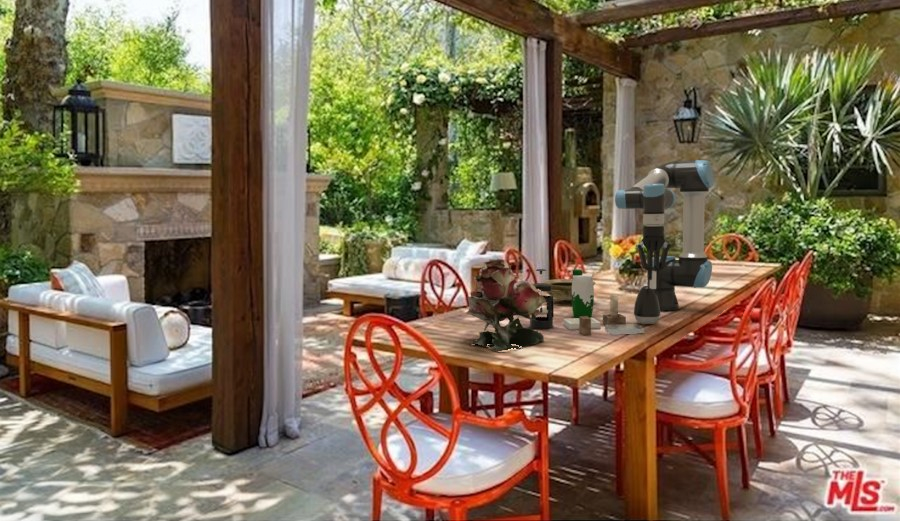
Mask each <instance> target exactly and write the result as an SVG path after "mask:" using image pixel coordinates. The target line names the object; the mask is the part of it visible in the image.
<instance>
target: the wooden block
mask: <svg viewBox="0 0 900 521" xmlns="http://www.w3.org/2000/svg"><path fill="white" fill-rule="evenodd" d="M591 318H592V317H591ZM591 318H589V317H588V316H581V317H579V330H578V332H579V333H580V334H581V335H583V336H588V335H589V336H590V335H592V329H591Z"/></svg>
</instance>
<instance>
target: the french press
mask: <svg viewBox="0 0 900 521" xmlns="http://www.w3.org/2000/svg"><path fill="white" fill-rule="evenodd" d="M535 271H536V272H539V275H543V272H545V271H547V269H544V268H537V269H535ZM542 280H543V279H542V277H540V282H538V283H537V282H536V283H533V285H534V286H535V287H536V290H538V291H540V296H543V297H544V298H545V299H546V302H545V303H546V309H545V308H543V307H542V305H543V304H542V305H541V306H540V308H538V309H536V310H540V313H539V314H538V315H546V316H535V315H532V314H531V315H530V317H531V318H533V319H535V320H530V319H529V325H528V326H529V327H528V328H530V329H532V328H533V330H551V329H553V328H554V297H553V296H550V295H547V294H546V295H542V294H543V293H542V292H546V293H547V291H551V286H553V285H552V284H547V283H544V282H543V281H542ZM536 320H538V321H536Z"/></svg>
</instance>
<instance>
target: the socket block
mask: <svg viewBox="0 0 900 521" xmlns="http://www.w3.org/2000/svg"><path fill="white" fill-rule="evenodd" d="M626 321H627V318H626V316H625V315H623V314H621V313H618V317H610V313H608V314H606V313H603V314H602V325H603V326H605V325H618V324H627V322H626Z"/></svg>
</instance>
